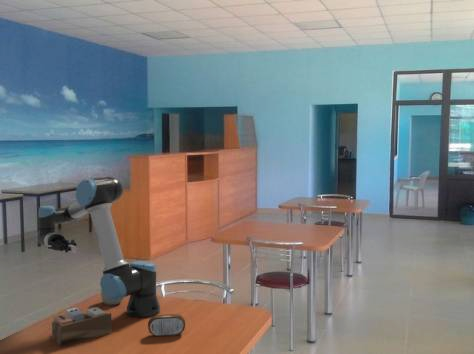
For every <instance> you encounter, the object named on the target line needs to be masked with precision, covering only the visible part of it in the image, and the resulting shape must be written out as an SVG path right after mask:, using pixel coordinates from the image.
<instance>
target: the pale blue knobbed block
mask: <svg viewBox="0 0 474 354" xmlns="http://www.w3.org/2000/svg"><path fill="white" fill-rule="evenodd" d="M84 314H85V312H84V311H82V310H81V309H79V308H77V307H73V308H68V309H65V315H66V316H67V317H69V318H71V319H73V320H74V321H76V322H77V321H81V320H84Z"/></svg>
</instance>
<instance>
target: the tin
mask: <svg viewBox="0 0 474 354" xmlns="http://www.w3.org/2000/svg"><path fill="white" fill-rule="evenodd" d="M147 328H148V331H149V333H150V334H151V335H152V336H154V337H170V336H173V337H174V336H179V335H181V334H182V333H183V332H184V331H185V329H186V319H185V318H184V317H183V316H182V315H181V314H179V313H178V314H177V313H174V314H171V313H170V314H156V315H154V316H151V318H149V320H148V323H147Z"/></svg>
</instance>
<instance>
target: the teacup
mask: <svg viewBox="0 0 474 354" xmlns="http://www.w3.org/2000/svg"><path fill="white" fill-rule="evenodd" d="M99 291H100V295H101V297H100V298H101V301H102V302H103V304H105V305H107V306H116V305H119V304H120V303H121V302H122V301H123V300H124V298H120V299H115V300H113V299H110V298H108V297H107V296H106V295H105V294H104V293H103V291H102V289H101V288H100V289H99Z"/></svg>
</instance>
